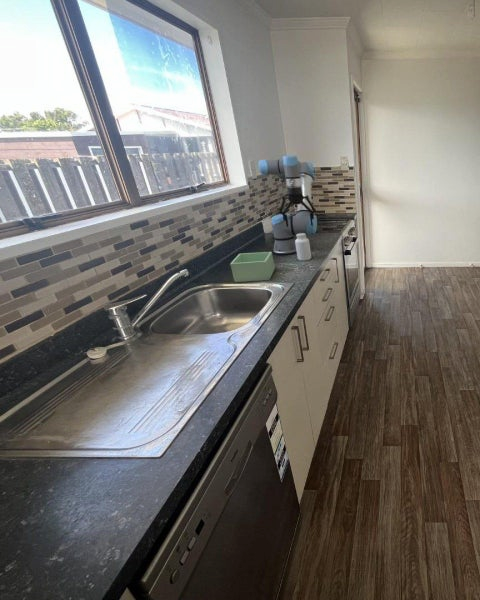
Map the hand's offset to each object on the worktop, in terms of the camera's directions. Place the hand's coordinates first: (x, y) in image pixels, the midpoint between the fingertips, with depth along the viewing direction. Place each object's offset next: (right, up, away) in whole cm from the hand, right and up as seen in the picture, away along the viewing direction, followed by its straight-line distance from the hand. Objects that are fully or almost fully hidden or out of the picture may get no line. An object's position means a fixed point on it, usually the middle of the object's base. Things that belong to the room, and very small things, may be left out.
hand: (299, 225), depth 187 cm
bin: (-19, -30, -15) cm, 38 cm away
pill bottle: (0, -18, +9) cm, 20 cm away
